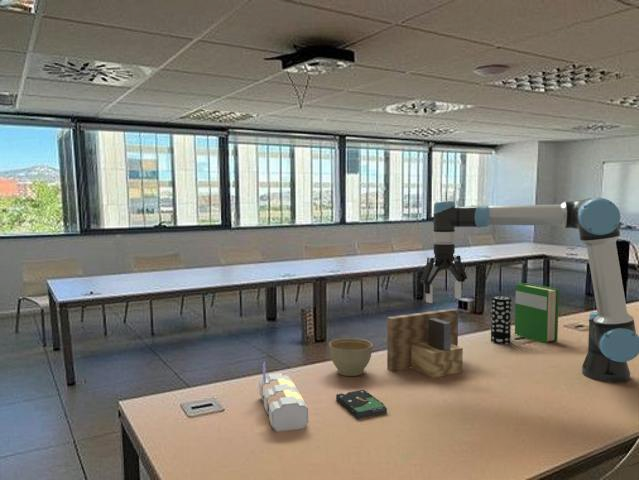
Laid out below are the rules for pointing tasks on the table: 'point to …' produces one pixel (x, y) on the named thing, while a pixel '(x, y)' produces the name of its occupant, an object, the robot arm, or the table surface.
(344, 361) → the planter bowl
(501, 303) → the spotted tube
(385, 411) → the disk drive
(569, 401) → the table surface
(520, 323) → the hardback book
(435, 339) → the grey slab
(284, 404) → the white yellow segmented bar
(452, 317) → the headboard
